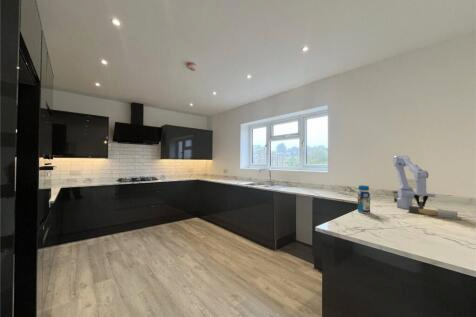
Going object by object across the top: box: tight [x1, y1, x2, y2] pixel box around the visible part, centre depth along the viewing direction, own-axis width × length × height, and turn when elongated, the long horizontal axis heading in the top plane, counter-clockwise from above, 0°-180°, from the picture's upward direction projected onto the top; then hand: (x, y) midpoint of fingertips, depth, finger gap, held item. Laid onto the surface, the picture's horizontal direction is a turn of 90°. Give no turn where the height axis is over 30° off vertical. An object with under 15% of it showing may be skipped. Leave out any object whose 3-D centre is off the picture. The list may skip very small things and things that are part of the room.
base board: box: [406, 210, 462, 222], centre depth 142 cm, size 26×12×1 cm, turn 42°
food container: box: [392, 190, 400, 203], centre depth 193 cm, size 12×6×10 cm, turn 59°
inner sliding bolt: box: [418, 200, 438, 215], centre depth 143 cm, size 16×3×8 cm, turn 42°
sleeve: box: [437, 208, 459, 219], centre depth 136 cm, size 9×4×4 cm, turn 42°
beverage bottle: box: [357, 185, 371, 214], centre depth 154 cm, size 8×8×20 cm
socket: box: [408, 204, 419, 214], centre depth 149 cm, size 5×7×4 cm
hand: (421, 206), depth 146 cm, fingers open, 2 cm apart
